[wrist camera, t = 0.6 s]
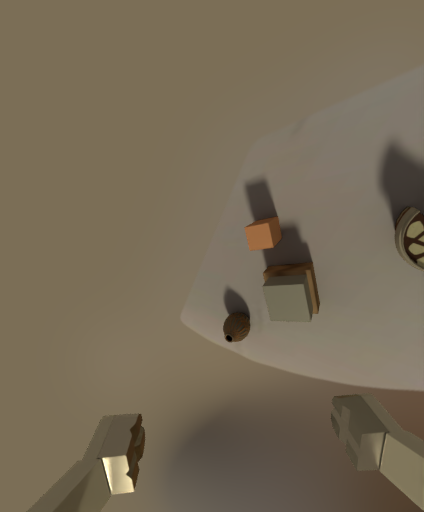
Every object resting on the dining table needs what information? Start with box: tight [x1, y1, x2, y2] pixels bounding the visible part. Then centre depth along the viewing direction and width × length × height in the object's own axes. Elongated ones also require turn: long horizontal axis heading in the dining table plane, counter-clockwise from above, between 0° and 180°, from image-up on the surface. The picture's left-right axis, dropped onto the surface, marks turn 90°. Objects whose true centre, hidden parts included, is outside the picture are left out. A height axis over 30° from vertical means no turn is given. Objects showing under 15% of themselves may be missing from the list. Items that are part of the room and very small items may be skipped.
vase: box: [223, 312, 250, 342], centre depth 60 cm, size 7×7×9 cm
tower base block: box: [263, 262, 320, 314], centre depth 51 cm, size 10×10×5 cm
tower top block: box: [262, 274, 313, 322], centre depth 47 cm, size 8×8×5 cm
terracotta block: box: [245, 216, 282, 251], centre depth 48 cm, size 5×5×8 cm
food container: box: [395, 206, 424, 271], centre depth 36 cm, size 12×6×10 cm, turn 56°
